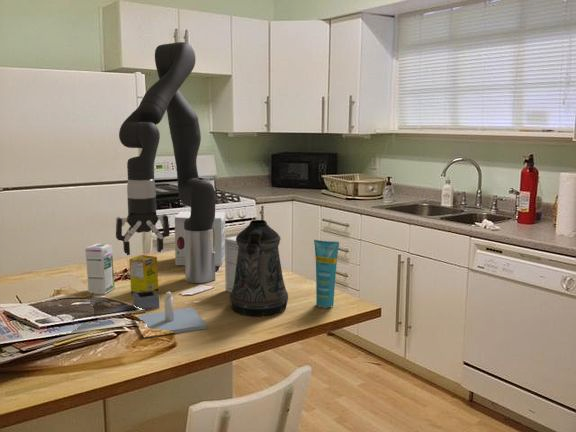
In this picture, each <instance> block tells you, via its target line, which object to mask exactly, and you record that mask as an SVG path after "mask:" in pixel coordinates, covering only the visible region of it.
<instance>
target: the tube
mask: <svg viewBox="0 0 576 432" xmlns="http://www.w3.org/2000/svg"><path fill="white" fill-rule="evenodd" d="M313 243H314V252H315V253H314V255H315V256H314V257H315V281H316V284H315V287H316V289H315V291H316V296H315V297H316V298H315V299H316V301H315V302H316V304H317V305H316V306H317V307H319V306H320V307H319V308H321V307H330V308H332V307H334V301H335V290H336V289H335V287H336V277H337V262H338V253H339V249H340V248H339V247H340V241H336V240H335V241H331V240H328V241H327V240H320V239H313ZM331 306H332V307H331Z"/></svg>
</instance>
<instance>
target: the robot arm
mask: <svg viewBox="0 0 576 432" xmlns="http://www.w3.org/2000/svg"><path fill="white" fill-rule="evenodd" d="M195 53H196V52H195V50H194V48H193V46H192V45H191V44H190V43H188V42H186V41H185V42H184V41H178V42H171V43H164V44H160V45H158V46H156V48H155V49H154V62H155V69H156V71H157V72H156V73H157V75H158V76H157V77H158V80H157V81H156V82H154V84H152V85H151V86H150V87H149V88H148V90H146V92H145V94H144V95H143V97H142V99H141V101H140V103H139V104H138V107H137V108H136V109H135V110H134V111H132V113H131V114H130V115H129V116H128V117H127V118H126V119H125V120H124V121H123V122H122V124H121V125H120V128H119V133H118V138H119V141H120V143H121V145H122V146H124V147H126V148H129V149H141V151H140V154H139V155H138V156H133V157H130V158H128V160H127V162H126V163H127V164H126V167H127V168H126V170H127V185H126V188H127V189H126V191H127V194H126V196H127V213H128V214H127V216H126V217H119V216H118V217H116V218H115V238H116V239H117V241H122V242H123V243H122V244H123V247H122V248H123V252H124V253H125V254H126V256H131V247H130V246H131V245H130V239H131V238H132V236H133V235H135V233H137V234H138V233H140V234H141V233H143V232H144V233H150V232H151V231H152V232H153V234H155V236H156V237H157V238H156V250H157V253H162V250H164V238H166V237H169V236H170V234H171V233H170V222H169V216H168V215H166V213H165V214H164V213H163V214H162V215H157V191H156V183H155V160H156V157H157V151H158V148H159V144H160V138H161V137H160V136H161V135H160V131H159V128H158V124H160V122H161V121H162V120H163V118H164V115H165V113H166V114H167V115H166V116H167V120H168V128H169V135H170V138H171V143H172V148H173V155H174V161H175V165H176V166H175V167H176V177H177V178H176V179H177V193H178V197H179V200H180V201H181V202H182V203H181V204H183V205H185V206H186V207H189V208H190V211H191V215H190V218H188V219H186V220H185V221H184V243H185V265H184V272H185V273H184V276H185V279H184V280H185V281H186V282H188V283H192V284H202V283H203V284H205V283H210V282H211V281H216V266H215V252H214V251H213V222H214V219H215V212H216V201H217V199H216V198H217V196H216V190H215V187H214V185H213V184H212V183H211V182H209V181H207V180H203V179H200V177H199V172H198V165H197V158H198V153H199V150H200V145H201V139H202V138H201V129H200V128H201V127H200V122H199V121H200V120H199V117H198V114H197V113H196V111H195V109H194V108H193V107H192V105H191V104H190V103H189V102H188V101H187V99H186V98H185V97H184V95H183V94H182V92H181V90H180V88H181V86H182V85H183V84H184V82H185V81H186V80H187V79H188V77H189V76H190V75H191V74H192V71H193V70H194V68H195V65H196V54H195ZM158 221H159V222H160V223H161V224H162V232H160V230H158V228H157V227H156V225H157V222H158ZM126 223H127V224H128V225H129V227H128V228H127V230H126V232H125V233H124V235H123V233H122V232H123V227H124V226H125V225H126Z"/></svg>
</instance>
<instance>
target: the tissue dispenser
mask: <svg viewBox="0 0 576 432" xmlns="http://www.w3.org/2000/svg"><path fill="white" fill-rule="evenodd" d="M132 304H134V305H135V306H136V307H139V308H142V309H145V310H144V311H148V310H149V311H150V310H155V309H160V295H159V294H158V293H157V291H155V290H149V291H141V292H133V293H132ZM134 305H133V306H134Z"/></svg>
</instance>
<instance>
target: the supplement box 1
mask: <svg viewBox="0 0 576 432" xmlns="http://www.w3.org/2000/svg"><path fill="white" fill-rule="evenodd" d="M128 260H129V261H128V262H129V276H130V277H129V278H130V294H133V292H141V291H149V290H155V291H156V292H158V291H159V276H158V257H157V256H155V255H154V256H153V255H147V254H141V255H137V256H134V257H132V258H128Z"/></svg>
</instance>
